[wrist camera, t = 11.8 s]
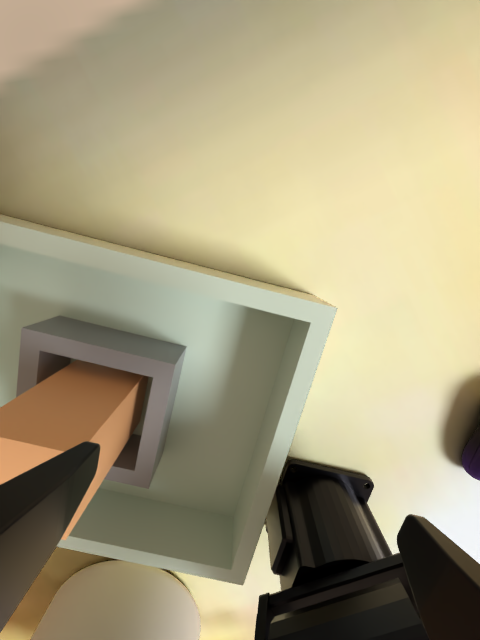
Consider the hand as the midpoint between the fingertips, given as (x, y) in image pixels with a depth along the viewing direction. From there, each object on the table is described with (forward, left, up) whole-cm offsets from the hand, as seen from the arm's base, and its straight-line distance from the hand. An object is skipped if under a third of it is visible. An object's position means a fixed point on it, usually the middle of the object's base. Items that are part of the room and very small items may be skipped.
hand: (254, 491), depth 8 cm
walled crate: (+8, +4, -11) cm, 14 cm away
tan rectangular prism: (+8, +4, -10) cm, 13 cm away
